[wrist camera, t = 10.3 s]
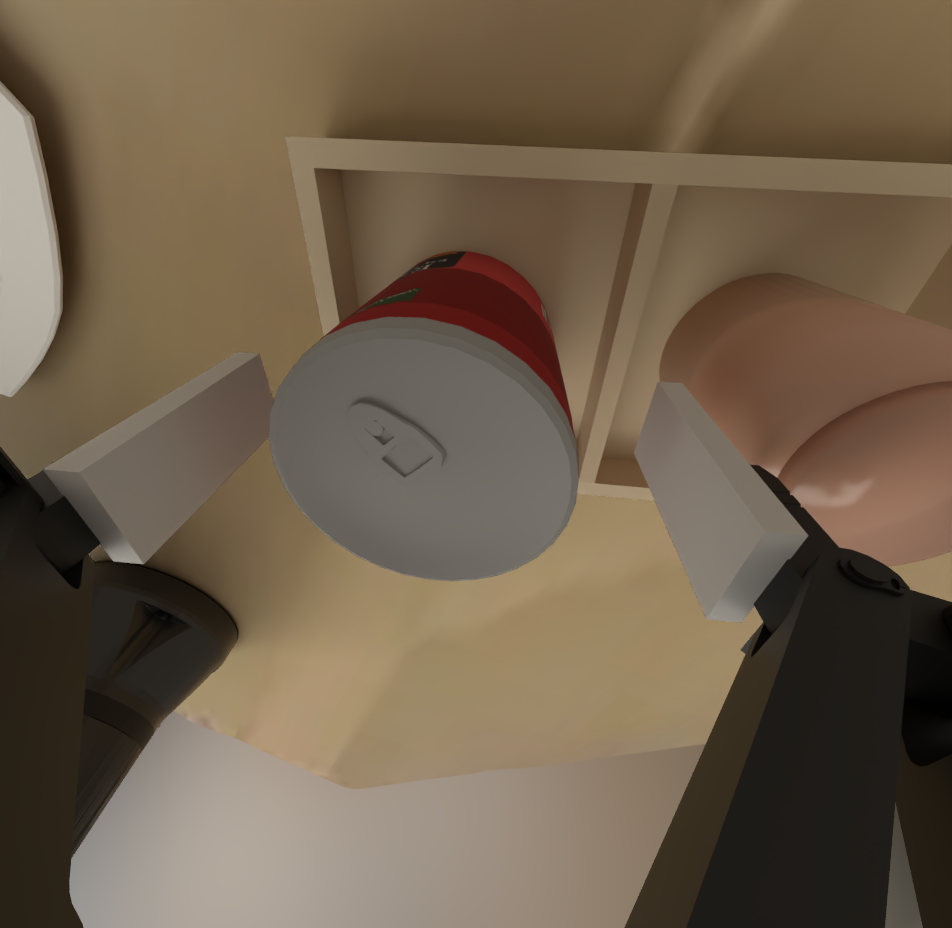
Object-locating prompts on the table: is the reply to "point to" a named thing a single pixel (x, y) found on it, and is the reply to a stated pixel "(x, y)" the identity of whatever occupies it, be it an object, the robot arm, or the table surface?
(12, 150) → the plate
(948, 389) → the jar
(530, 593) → the table surface
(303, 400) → the canned food
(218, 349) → the table surface
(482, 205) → the divided tray
